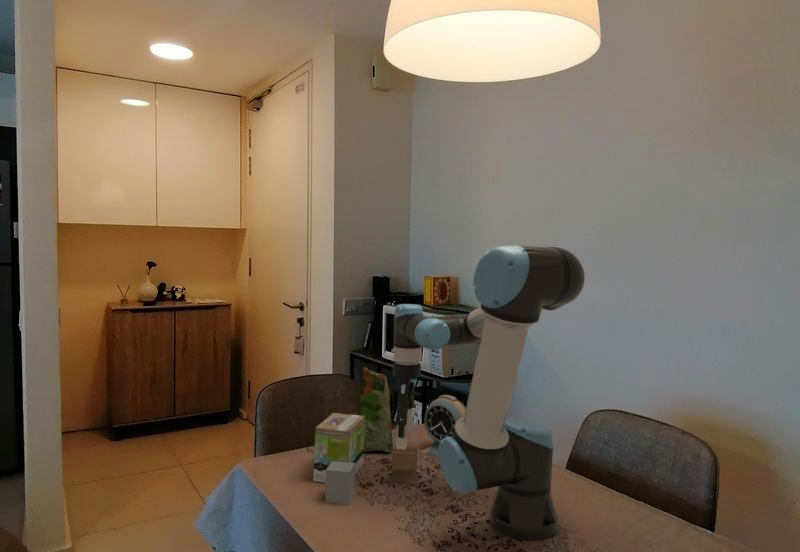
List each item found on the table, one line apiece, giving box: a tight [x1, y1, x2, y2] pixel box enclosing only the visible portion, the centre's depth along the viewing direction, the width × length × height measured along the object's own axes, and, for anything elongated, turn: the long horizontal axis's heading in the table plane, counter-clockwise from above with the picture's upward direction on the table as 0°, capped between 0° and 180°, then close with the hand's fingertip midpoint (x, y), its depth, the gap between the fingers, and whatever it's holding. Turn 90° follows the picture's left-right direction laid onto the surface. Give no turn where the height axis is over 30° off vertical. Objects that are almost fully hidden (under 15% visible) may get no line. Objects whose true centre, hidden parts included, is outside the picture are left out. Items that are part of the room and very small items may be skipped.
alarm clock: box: [420, 394, 466, 459], centre depth 173 cm, size 14×10×18 cm
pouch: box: [360, 366, 394, 453], centre depth 173 cm, size 11×12×25 cm
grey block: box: [324, 461, 356, 505], centre depth 139 cm, size 6×6×8 cm
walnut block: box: [391, 444, 418, 485], centre depth 152 cm, size 6×6×8 cm
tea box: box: [313, 412, 365, 484], centre depth 155 cm, size 15×10×15 cm, turn 168°
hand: (404, 439), depth 152 cm, fingers open, 13 cm apart
